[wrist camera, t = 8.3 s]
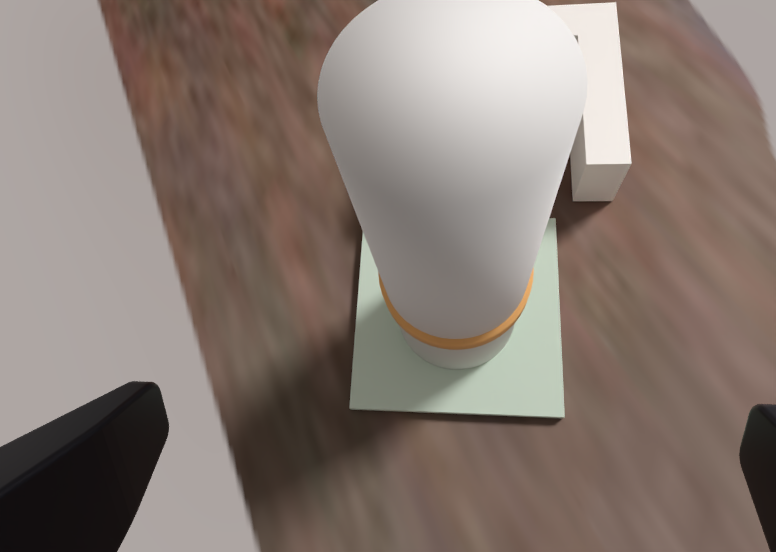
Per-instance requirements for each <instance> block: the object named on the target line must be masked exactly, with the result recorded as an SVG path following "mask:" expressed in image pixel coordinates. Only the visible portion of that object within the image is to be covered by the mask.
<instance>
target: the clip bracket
mask: <svg viewBox="0 0 776 552" xmlns="http://www.w3.org/2000/svg"><path fill="white" fill-rule="evenodd" d="M547 7H549V8H550V9H551V10H552V11H553V12H554V13H556V14H557V15H558V16H559V17H560V18H561V20H562V21H563V22H564V23H565V24H566V25H567V26H568V28H569V29H570V31H571V32H572V34H573V35H574V37H575V38H576V40H577V42H578V45H579V47H580V49H581V51H582V54H583V57H584V61H585V65H586V71H587V80H588V84H587V98H586V103H585V107H584V112H583V115H582V118H581V121H580V124H579V127H578V130H577V133H576V136H575V140H574V143H573V146H572V149H571V152H570V162H571V179H572V197H573V201H613V199H614V197H615V195H616V193H617V191H618V189H619V187H620V185H621V183H622V181H623V179H624V177H625V175H626V173H627V171H628V170H629V168H630V166H631V154H630V143H629V133H628V122H627V112H626V102H625V91H624V81H623V71H622V60H621V50H620V39H619V29H618V19H617V8H616V2H614V3H595V4H576V5H557V6H547Z"/></svg>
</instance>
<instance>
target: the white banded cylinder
mask: <svg viewBox="0 0 776 552" xmlns="http://www.w3.org/2000/svg"><path fill="white" fill-rule="evenodd" d="M587 84H588V80H587V71H586V65H585V61H584V57H583V54H582V51H581V49H580V47H579V45H578V42H577V40H576V38H575V37H574V35H573V34H572V32H571V31H570V29H569V28H568V26H567V25H566V24H565V23H564V22H563V21H562V20H561V18H560V17H559V16H558V15H557V14H556V13H554V12H553V11H552V10H551V9H550V8H549V7H547V6H546V5H545V4H543V3H542V2H540V1H539V0H378V1H377V2H375V3H374V4H372V5H371V6H369V7H368V8H366V9H365V10H363V11H362V12H361V13H360V14H359V15H357V16H356V17H355V18H354V19H353V20H352V21H351V22H350V23H349V24H348V25H347V26H346V27H345V28H344V29H343V30H342V32H341V33H340V35H339V36H338V37H337V39H336V40H335V41H334V43H333V45H332V46H331V48H330V50H329V52H328V54H327V56H326V58H325V61H324V63H323V66H322V69H321V73H320V77H319V82H318V93H317V99H318V111H319V115H320V120H321V124H322V127H323V129H324V132H325V134H326V137H327V140H328V142H329V145H330V147H331V150H332V153H333V155H334V158H335V160H336V163H337V166H338V168H339V171H340V173H341V176H342V179H343V181H344V184H345V186H346V189H347V191H348V194H349V197H350V199H351V202H352V204H353V207H354V210H355V212H356V215H357V217H358V220H359V223H360V225H361V228H362V230H363V233H364V235H365V238H366V241H367V243H368V246H369V248H370V251H371V254H372V256H373V259H374V261H375V264H376V267H377V269H378V276H379V284H380V288H381V292H382V295H383V298H384V300H385V302H386V305H387V307H388V310H389V311H390V313H391V315H392V317H393V318H394V319H395V321H396V322H397V323H398V324H399V326H400V329H401V331H402V334H403V336H404V338H405V340H406V342H407V343H408V345H409V346H410V347H411V349H412V350H413V351H414V352H415V353H416V354H417V355H418V356H420V357H421V358H422V359H423V360H425V361H427V362H429V363H430V364H433V365H435V366H438V367H441V368H445V369H453V370H462V369H469V368H473V367H477V366H479V365H482V364H484V363H486V362H487V361H489V360H491V359H492V358H493V357H495V356H496V355H497V354H498V353H499V352H500V351H501V350H502V349H503V348H504V346H505V345H506V344H507V342H508V340H509V338H510V336H511V334H512V331H513V328H514V325H515V322H516V321H517V319H518V318H519V317H520V315H521V313H522V312H523V310H524V308H525V306H526V303H527V300H528V298H529V295H530V292H531V288H532V284H533V275H534V268H533V266H534V263H535V260H536V257H537V254H538V251H539V248H540V245H541V242H542V239H543V235H544V232H545V229H546V226H547V223H548V220H549V217H550V214H551V211H552V208H553V205H554V201H555V198H556V195H557V192H558V189H559V186H560V183H561V180H562V177H563V174H564V171H565V167H566V164H567V161H568V158H569V155H570V152H571V149H572V146H573V143H574V140H575V136H576V133H577V130H578V127H579V124H580V121H581V118H582V115H583V112H584V107H585V103H586V98H587Z"/></svg>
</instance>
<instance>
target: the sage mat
mask: <svg viewBox="0 0 776 552" xmlns="http://www.w3.org/2000/svg"><path fill="white" fill-rule="evenodd" d="M533 268H534V275H533V284H532V288H531V292H530V295H529V298H528V300H527V303H526V306H525V308H524V310H523V312H522V313H521V315H520V317H519V318H518V319H517V321H516V322H515V325H514V328H513V331H512V334H511V336H510V338H509V340H508V342H507V344H506V345H505V346H504V348H503V349H502V350H501V351H500V352H499V353H498V354H497V355H496V356H495V357H493V358H492V359H491V360H489V361H487V362H486V363H484V364H482V365H479V366H477V367H473V368H469V369H462V370H453V369H445V368H441V367H438V366H435V365H433V364H430V363H429V362H427V361H425V360H423V359H422V358H421V357H420V356H418V355H417V354H416V353H415V352H414V351H413V350H412V349H411V347H410V346H409V345H408V343H407V342H406V340H405V338H404V336H403V334H402V331H401V329H400V326H399V324H398V323H397V322H396V321H395V319H394V318H393V317H392V315H391V313H390V311H389V310H388V307H387V305H386V302H385V300H384V298H383V295H382V292H381V288H380V284H379V276H378V269H377V267H376V264H375V261H374V259H373V256H372V254H371V251H370V248H369V246H368V243H367V241H366V238H365V235H364V233H363V236H362V249H361V263H360V276H359V289H358V302H357V315H356V328H355V341H354V354H353V367H352V380H351V393H350V406H349V408H350V409H352V410H375V411H399V412H423V413H447V414H470V415H494V416H518V417H541V418H564V417H565V415H564V393H563V371H562V348H561V326H560V304H559V282H558V259H557V237H556V218H549V220H548V223H547V226H546V229H545V232H544V235H543V239H542V242H541V245H540V248H539V251H538V254H537V257H536V260H535V263H534V266H533Z"/></svg>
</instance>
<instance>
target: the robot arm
mask: <svg viewBox="0 0 776 552" xmlns="http://www.w3.org/2000/svg"><path fill="white" fill-rule="evenodd" d="M168 432H169V422H168V418H167V414H166V410H165V406H164V403H163V399H162V395H161V391H160V388H159V387H158V385H157V384H155V383H154V382H138V381H133V382H129V383H127V384H125V385H123V386H121V387H119V388H117V389H115V390H113V391H111V392H109V393H107V394H105V395H103V396H101V397H99V398H97V399H95V400H93V401H91V402H89V403H87V404H85V405H83V406H81V407H79V408H77V409H75V410H73V411H71V412H69V413H67V414H65V415H63V416H61V417H59V418H57V419H55V420H53V421H51V422H49V423H47V424H45V425H43V426H41V427H39V428H37V429H35V430H33V431H31V432H29V433H27V434H25V435H23V436H21V437H19V438H17V439H15V440H13V441H11V442H9V443H8V444H6V445H3V446H1V447H0V552H117V551H118V549H119V547H120V545H121V543H122V541H123V539H124V537H125V536H126V534H127V532H128V530H129V528H130V525H131V524H132V521H133V519H134V517H135V515H136V512H137V510H138V508H139V506H140V503H141V501H142V498H143V496H144V493H145V491H146V489H147V486H148V483H149V481H150V479H151V476H152V474H153V471H154V469H155V466H156V464H157V461H158V459H159V457H160V454H161V452H162V449H163V447H164V444H165V442H166V439H167V436H168ZM739 456H740V464H741V468H742V471H743V473H744V476H745V479H746V482H747V485H748V488H749V491H750V494H751V497H752V500H753V503H754V506H755V508H756V511H757V514H758V517H759V520H760V523H761V526H762V529H763V532H764V535H765V538H766V540H767V543H768V546H769V549H770V552H776V405H772V404H757V405H755V406H753V407H752V409H751V410H750V413H749V416H748V420H747V423H746V427H745V431H744V435H743V439H742V442H741V446H740V453H739Z"/></svg>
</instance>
